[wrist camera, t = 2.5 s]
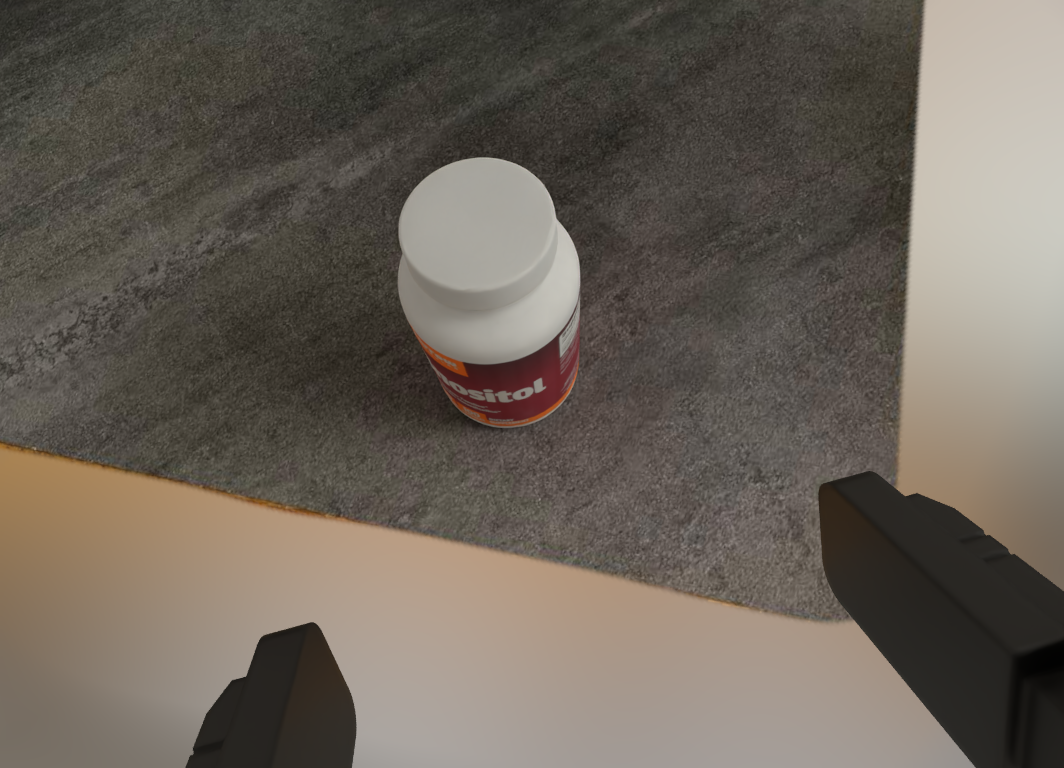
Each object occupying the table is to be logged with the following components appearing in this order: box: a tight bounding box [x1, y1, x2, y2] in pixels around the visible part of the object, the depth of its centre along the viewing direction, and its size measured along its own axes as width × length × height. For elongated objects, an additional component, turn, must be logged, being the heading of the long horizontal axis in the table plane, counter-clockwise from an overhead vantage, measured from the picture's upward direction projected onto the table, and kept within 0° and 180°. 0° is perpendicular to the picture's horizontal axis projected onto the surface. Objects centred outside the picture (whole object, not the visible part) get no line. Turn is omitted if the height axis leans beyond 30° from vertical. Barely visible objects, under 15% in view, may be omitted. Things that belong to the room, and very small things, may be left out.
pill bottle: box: [398, 158, 580, 428], centre depth 24 cm, size 6×6×11 cm
